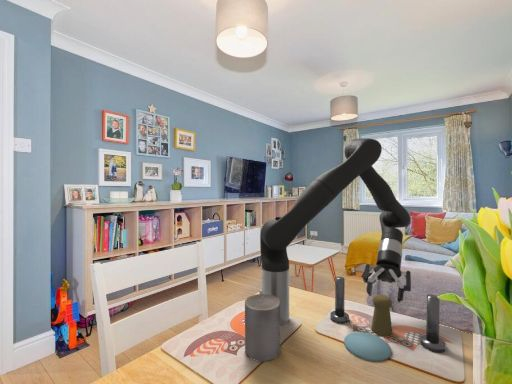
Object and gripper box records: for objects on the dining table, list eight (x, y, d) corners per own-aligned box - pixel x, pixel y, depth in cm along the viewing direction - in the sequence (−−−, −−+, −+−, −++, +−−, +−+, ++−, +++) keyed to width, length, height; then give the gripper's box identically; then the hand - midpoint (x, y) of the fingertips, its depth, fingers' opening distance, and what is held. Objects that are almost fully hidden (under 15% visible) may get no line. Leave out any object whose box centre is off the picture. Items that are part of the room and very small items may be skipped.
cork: (395, 338, 77) (395, 301, 77) (373, 335, 79) (374, 299, 78) (389, 327, 83) (389, 293, 83) (369, 325, 85) (369, 291, 84)
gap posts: (327, 320, 88) (328, 278, 87) (333, 313, 93) (333, 273, 92) (445, 355, 69) (446, 303, 69) (445, 344, 74) (446, 295, 74)
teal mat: (338, 350, 72) (338, 347, 72) (350, 330, 81) (350, 328, 81) (387, 367, 65) (387, 364, 65) (394, 343, 75) (394, 340, 75)
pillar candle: (254, 336, 78) (254, 287, 78) (285, 345, 74) (285, 292, 73) (238, 356, 69) (237, 300, 69) (272, 367, 65) (271, 307, 65)
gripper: (366, 246, 95) (358, 287, 86) (412, 251, 87) (408, 298, 77) (369, 257, 99) (362, 298, 90) (413, 263, 91) (410, 309, 82)
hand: (383, 298), depth 84 cm, fingers open, 8 cm apart
